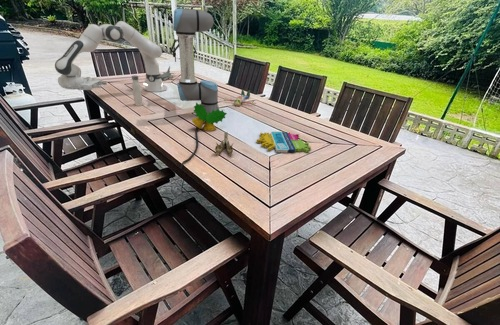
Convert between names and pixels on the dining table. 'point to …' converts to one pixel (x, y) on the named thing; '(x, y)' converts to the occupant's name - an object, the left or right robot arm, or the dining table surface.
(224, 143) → the jawbone
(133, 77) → the cap
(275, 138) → the packaged gardening gloves
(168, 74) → the airplane
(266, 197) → the dining table surface
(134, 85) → the bottle
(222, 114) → the ornament
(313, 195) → the dining table surface
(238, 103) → the toy
